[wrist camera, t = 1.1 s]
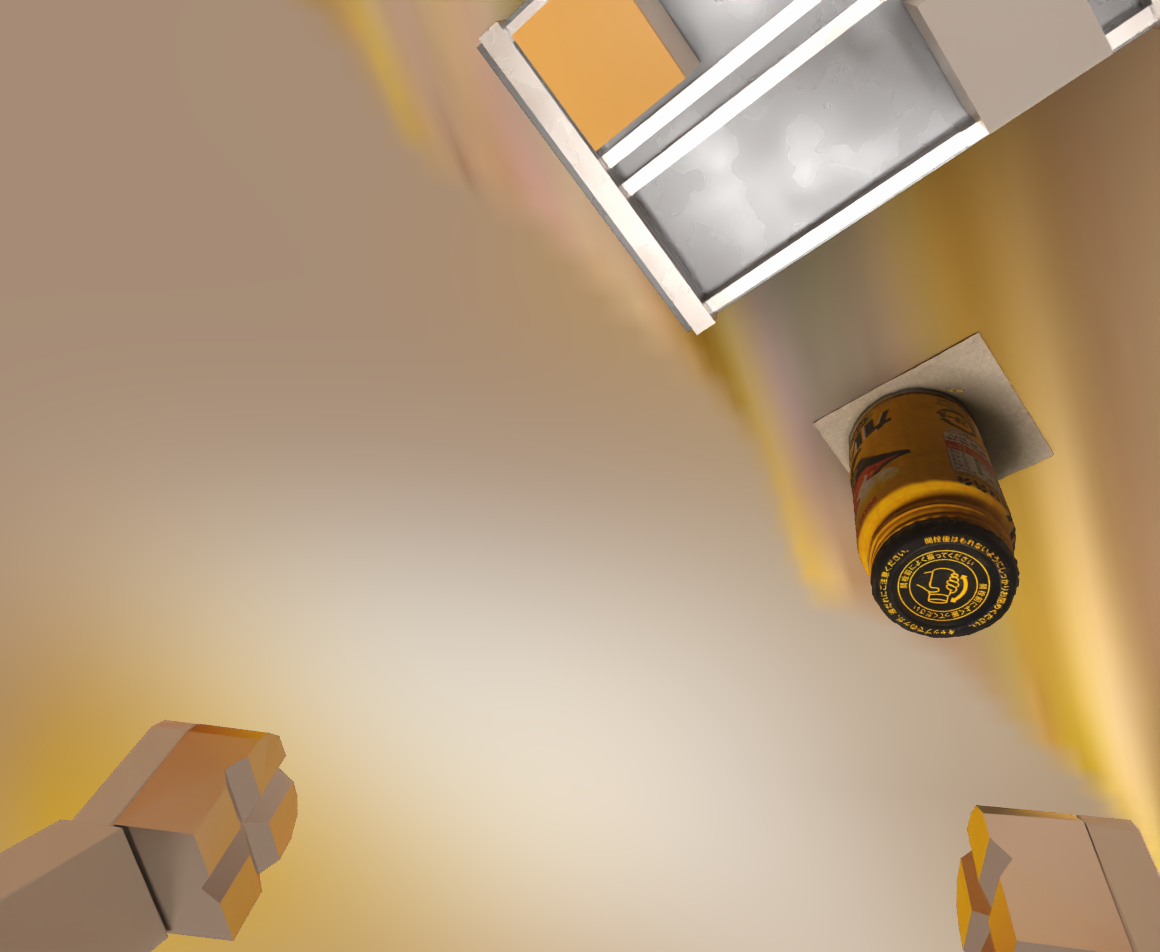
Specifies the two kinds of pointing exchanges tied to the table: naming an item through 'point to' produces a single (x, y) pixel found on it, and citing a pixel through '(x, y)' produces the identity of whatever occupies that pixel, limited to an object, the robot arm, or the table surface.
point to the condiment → (937, 488)
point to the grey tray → (765, 135)
